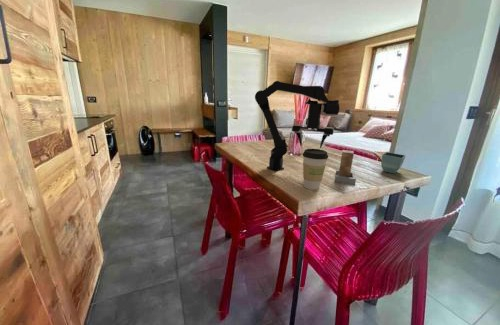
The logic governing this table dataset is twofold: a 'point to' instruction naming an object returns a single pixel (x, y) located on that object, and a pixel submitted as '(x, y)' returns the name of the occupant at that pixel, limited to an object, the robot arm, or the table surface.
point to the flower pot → (392, 162)
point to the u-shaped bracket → (345, 178)
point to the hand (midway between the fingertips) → (310, 147)
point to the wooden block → (346, 163)
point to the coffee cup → (313, 167)
